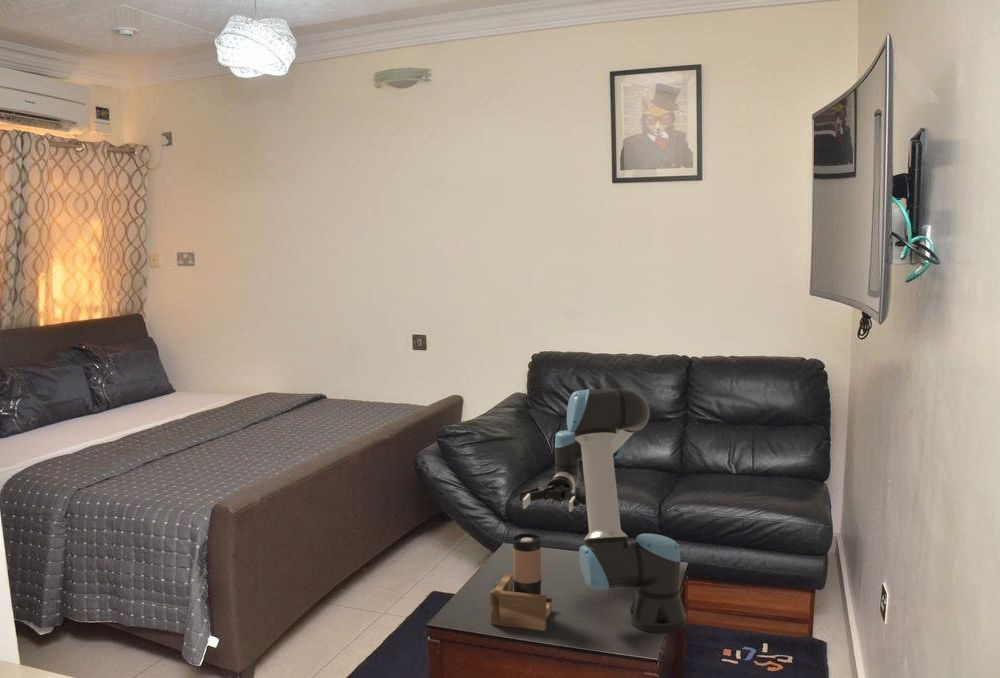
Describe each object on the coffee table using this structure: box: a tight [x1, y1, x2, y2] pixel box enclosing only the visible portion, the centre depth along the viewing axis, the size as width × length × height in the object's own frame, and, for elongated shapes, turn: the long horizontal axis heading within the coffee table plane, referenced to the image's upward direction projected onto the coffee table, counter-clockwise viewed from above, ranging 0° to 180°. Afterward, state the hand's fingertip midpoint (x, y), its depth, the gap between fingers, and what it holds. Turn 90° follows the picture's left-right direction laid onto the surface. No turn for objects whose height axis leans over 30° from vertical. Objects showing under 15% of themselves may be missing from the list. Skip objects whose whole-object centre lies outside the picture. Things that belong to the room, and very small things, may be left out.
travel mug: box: [512, 533, 542, 595], centre depth 229 cm, size 8×8×20 cm
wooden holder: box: [489, 572, 553, 632], centre depth 230 cm, size 14×15×9 cm
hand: (546, 505), depth 241 cm, fingers open, 13 cm apart
